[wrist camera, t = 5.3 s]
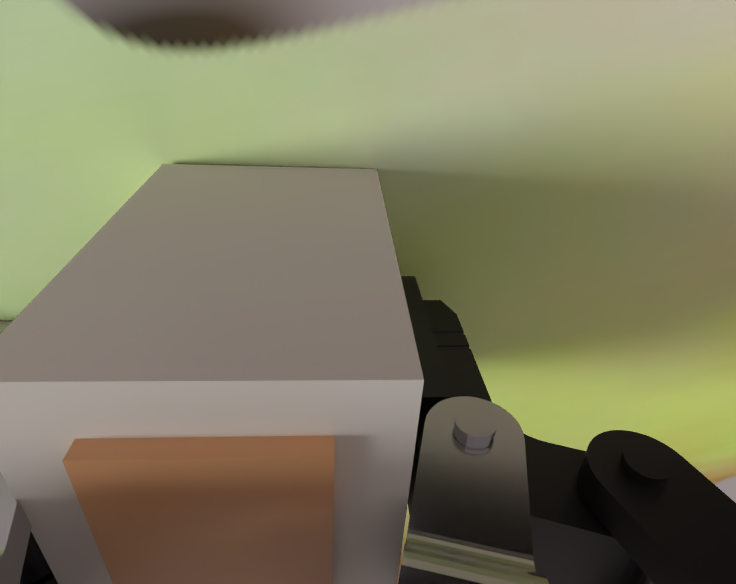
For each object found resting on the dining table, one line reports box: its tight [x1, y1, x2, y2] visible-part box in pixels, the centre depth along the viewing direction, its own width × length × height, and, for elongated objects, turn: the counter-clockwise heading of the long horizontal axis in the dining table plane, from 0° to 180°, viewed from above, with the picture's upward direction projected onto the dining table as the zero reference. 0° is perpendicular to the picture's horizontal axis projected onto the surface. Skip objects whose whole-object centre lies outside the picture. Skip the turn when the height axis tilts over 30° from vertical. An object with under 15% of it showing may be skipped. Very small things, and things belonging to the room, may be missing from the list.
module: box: [0, 164, 424, 584], centre depth 8 cm, size 5×4×6 cm
